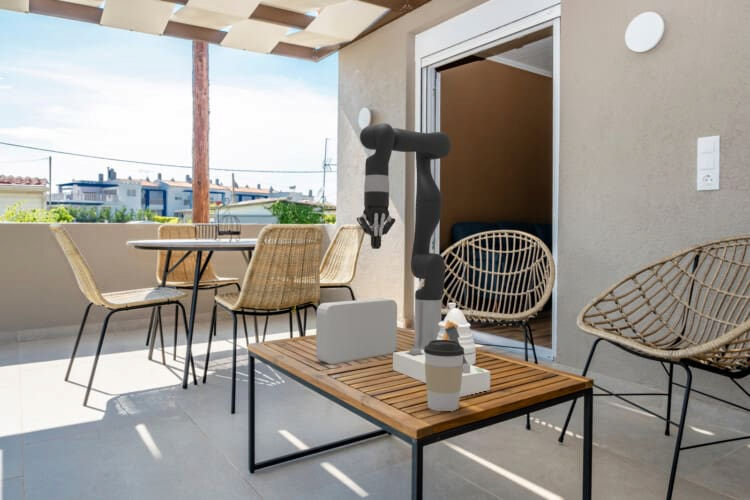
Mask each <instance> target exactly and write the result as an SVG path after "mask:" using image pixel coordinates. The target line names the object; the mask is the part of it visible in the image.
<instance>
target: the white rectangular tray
mask: <svg viewBox="0 0 750 500" xmlns="http://www.w3.org/2000/svg"><path fill="white" fill-rule="evenodd" d="M392 370H393V371H394V372H398V373H400V374H402V375H405V376H406V377H410V378H413V379H414V380H416V381H419V382H421V383H425V384H426V376H425V352H424V350H422V349H421V355H417V356H412V355H409V350H405V351H402V350H401V351H396V352H395V351H394V352H393V353H392ZM487 390H490V391H491V371H490V370H487V369H485V368H482V367H478V366H475V365H470V364H463V370H462V381H461V390H460V397H459V398H461V397H467V395H468V396H471V394H473V395H476V394H475V393H478V394H480V393H479V392H482V393H484V392H483V391H487ZM487 392H488V391H487Z"/></svg>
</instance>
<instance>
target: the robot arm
mask: <svg viewBox="0 0 750 500" xmlns="http://www.w3.org/2000/svg"><path fill="white" fill-rule="evenodd" d="M359 140H360V143H361V145H362V146H363V147H364V148H366V149H367V150H373V151H375V152H374V153H373V154H372V155H370V156H368V157H367V158H365V164H364V165H365V168H364V172H365V173H364V183H363V184H364V187H363V190H364V191H363V193H364V194H363V196H364V197H363V207H364V210H363V214H361V216H358V217H357V218H356V222H357V223H358V224H359V226H360V227H361V229H362V231H363V232H364V233H365V234H366V235H368V236H370V247H371V248H372V250H379V249H380V248H381V246H382V236H384V235H387V234H388V233H389V231H391V230H390V229H392V227H393V225H394V224H395V223H396V218H394V217H392V216H390V211H389V207H390V181H389V179H390V177H389V176H390V175H389V163H390V159H391V157H392V153H393V151H394V152H401V153H412V152H413V153H415V165H416V166H415V167H416V168H415V169H416V190H415V191H416V193H415V208H414V209H415V210H414V211H415V212H414V213H415V217H414V235H413V243H412V244H413V245H412V252H411V259H410V270H411V273H412V276H414V278H417V279H419V280H421V279H422V280H424V284H423V286H422V287H421V288H419V289H417V290H415V293H414V337H413V338H414V344H413V345H414V347H413V348H419V349H422V350H425V348H424V347H425V346H426V345H428V344H429V342H430V341H433V340H436V339H437V337H438V333H439V331H440V328H441V327H440V326H439V325H438V324H439V322H442V321H443V320H442V302H443V301H442V298H443V297H442V295H443V293H444V289H445V277H446V263H445V259H444V257H443V256H442V255H441V254H439V253H436V252H435V253H434V252H432V253H431V252H430V246H431V240H432V237H433V234H434V232H435V230H436V228H437V227H438V226H439V223H440V221H441V218H442V212H443V195H442V193H441V191H440V189H439V187H438V185H437V183H436V181H435V180H434V177H433V174H432V168H431V167H432V166H431V163H432V161H433V160H439V159H444V158H446V157H447V156H448V155H449V153H450V151H451V147H452V146H451V140H450V137H449V136H448V135H447V134H446V133H445V132H443V131H435V132H434V131H433V132H419V131H412V130H407V129H403V128H399V127H398V128H397V127H392V126H391V125H390V124H388V123H384V122H383V123H378V124H372V125H367V126H366V127H363V129H361V131H360V133H359Z"/></svg>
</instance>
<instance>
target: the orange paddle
mask: <svg viewBox="0 0 750 500" xmlns="http://www.w3.org/2000/svg"><path fill="white" fill-rule="evenodd" d="M452 326H454V327H455V328H456V329H457V328H458V325H457V324H456V323H453V322H451V321H449V320H448V321H447V323H446V325H445V329H446V328H449V327H452ZM442 340H450V339H449V338H448V336H447V334H446V331H445V334H444V336H443V338H442Z"/></svg>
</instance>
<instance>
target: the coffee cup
mask: <svg viewBox="0 0 750 500" xmlns="http://www.w3.org/2000/svg"><path fill="white" fill-rule="evenodd" d="M424 348H425V350H424V352H425V376H426V383H425V389H426V392H427V393H426V396H427V407H428V409H430V410H432V411H435V412H440V411H451V412H454V410H455V411H457V410H459V408H460V407H459V406H460V398H461V397H460V390H461V381H462V370H463V354H464V348H463V347H462V346H460V344H459V342H456V341H451V340H433V341H430V342H429V344H428V345H426V346H425V347H424ZM456 409H457V410H456Z"/></svg>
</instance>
